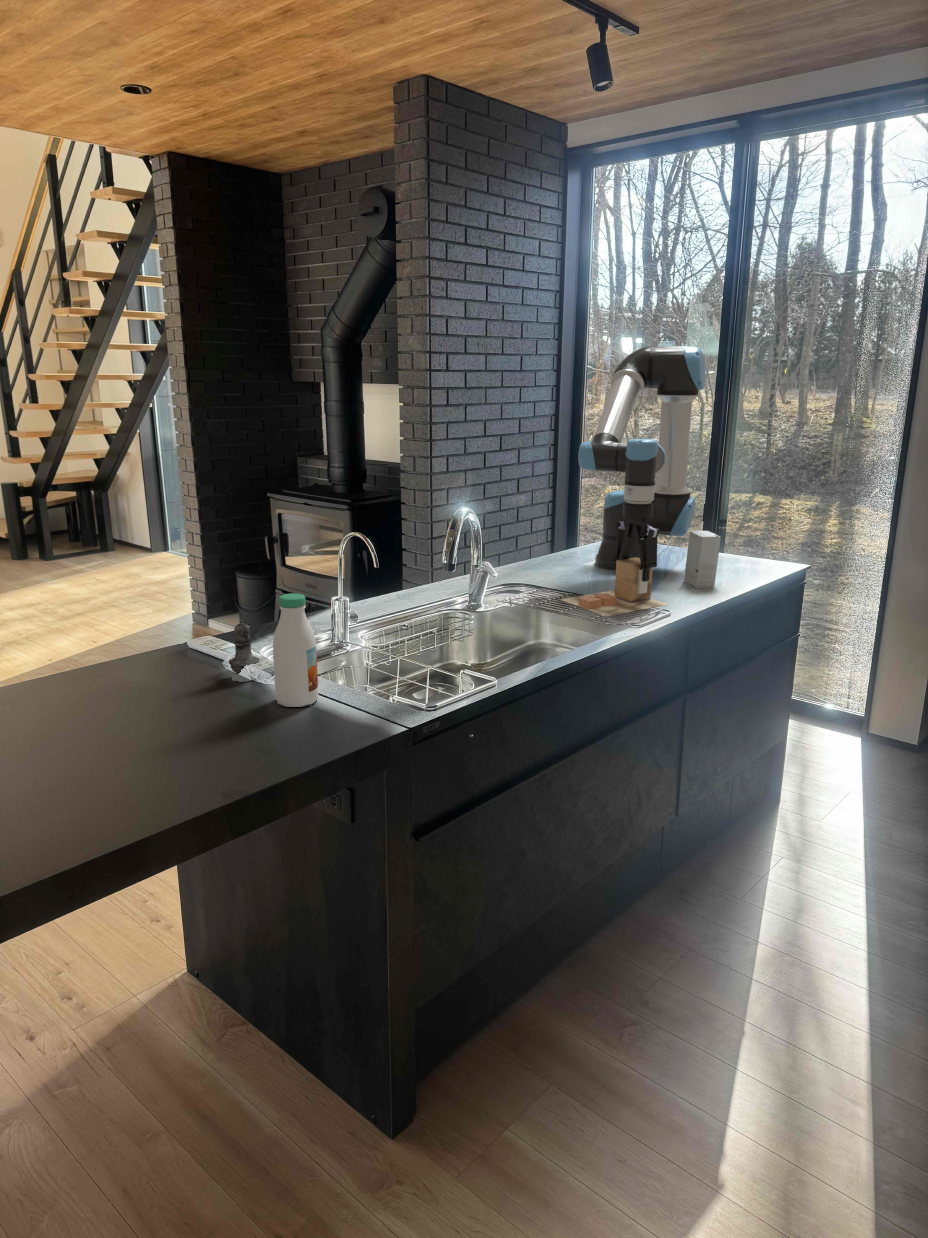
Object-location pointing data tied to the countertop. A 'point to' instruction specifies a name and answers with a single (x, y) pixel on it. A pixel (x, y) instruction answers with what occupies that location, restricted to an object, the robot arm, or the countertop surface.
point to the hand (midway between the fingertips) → (632, 590)
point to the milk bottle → (294, 654)
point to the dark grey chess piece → (242, 648)
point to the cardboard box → (630, 581)
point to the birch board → (617, 605)
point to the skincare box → (702, 559)
